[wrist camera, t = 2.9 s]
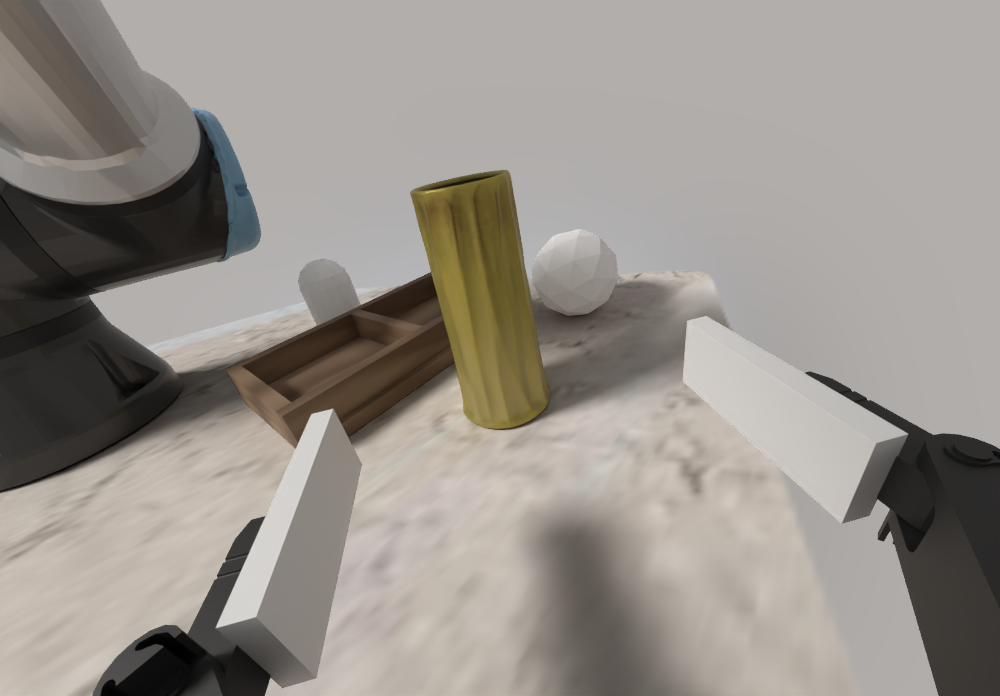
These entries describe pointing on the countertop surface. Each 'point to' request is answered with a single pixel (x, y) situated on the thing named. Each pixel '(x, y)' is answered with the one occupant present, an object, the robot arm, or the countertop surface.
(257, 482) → the countertop surface
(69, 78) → the robot arm
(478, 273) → the vase
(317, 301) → the white dome-topped block
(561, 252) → the ball
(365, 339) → the tray
